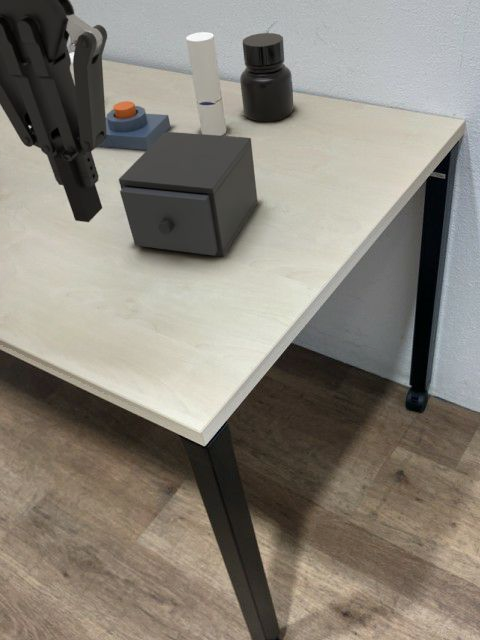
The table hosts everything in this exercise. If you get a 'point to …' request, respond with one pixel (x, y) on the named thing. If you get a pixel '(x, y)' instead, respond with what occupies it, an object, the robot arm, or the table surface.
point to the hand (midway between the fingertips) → (89, 214)
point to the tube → (206, 83)
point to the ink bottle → (265, 78)
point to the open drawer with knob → (170, 219)
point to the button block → (135, 130)
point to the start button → (124, 110)
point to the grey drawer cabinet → (202, 176)
